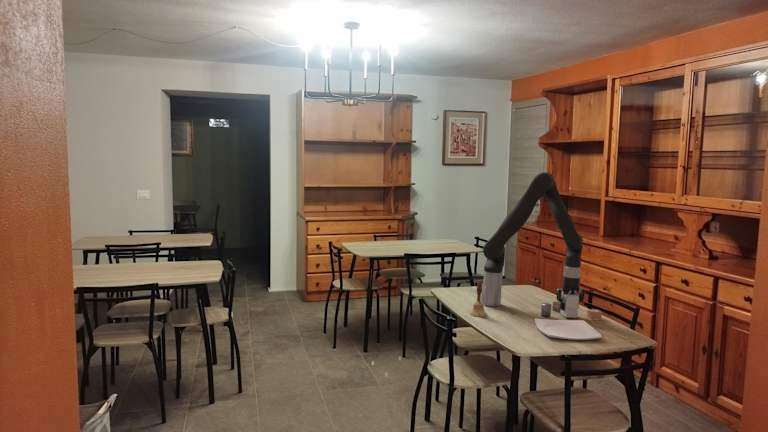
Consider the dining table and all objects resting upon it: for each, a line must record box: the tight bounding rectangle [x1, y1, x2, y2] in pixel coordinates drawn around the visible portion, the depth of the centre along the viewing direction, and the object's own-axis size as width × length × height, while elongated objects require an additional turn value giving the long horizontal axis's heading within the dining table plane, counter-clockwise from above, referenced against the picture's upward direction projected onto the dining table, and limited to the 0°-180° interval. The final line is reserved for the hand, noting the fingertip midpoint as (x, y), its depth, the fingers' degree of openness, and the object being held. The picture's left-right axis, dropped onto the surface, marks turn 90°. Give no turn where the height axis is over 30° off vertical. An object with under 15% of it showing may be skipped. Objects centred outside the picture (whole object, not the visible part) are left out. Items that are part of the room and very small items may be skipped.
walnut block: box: [552, 300, 562, 314], centre depth 256 cm, size 4×4×4 cm
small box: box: [560, 291, 580, 319], centre depth 246 cm, size 8×6×10 cm
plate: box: [534, 318, 603, 341], centre depth 224 cm, size 24×24×3 cm
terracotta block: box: [586, 309, 603, 321], centre depth 245 cm, size 5×4×4 cm
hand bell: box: [469, 281, 488, 318], centre depth 246 cm, size 8×8×16 cm
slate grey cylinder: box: [540, 302, 552, 319], centre depth 247 cm, size 4×4×6 cm
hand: (569, 309), depth 246 cm, fingers closed on small box, 6 cm apart
